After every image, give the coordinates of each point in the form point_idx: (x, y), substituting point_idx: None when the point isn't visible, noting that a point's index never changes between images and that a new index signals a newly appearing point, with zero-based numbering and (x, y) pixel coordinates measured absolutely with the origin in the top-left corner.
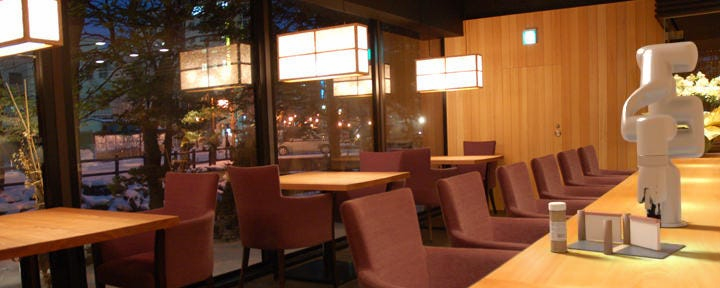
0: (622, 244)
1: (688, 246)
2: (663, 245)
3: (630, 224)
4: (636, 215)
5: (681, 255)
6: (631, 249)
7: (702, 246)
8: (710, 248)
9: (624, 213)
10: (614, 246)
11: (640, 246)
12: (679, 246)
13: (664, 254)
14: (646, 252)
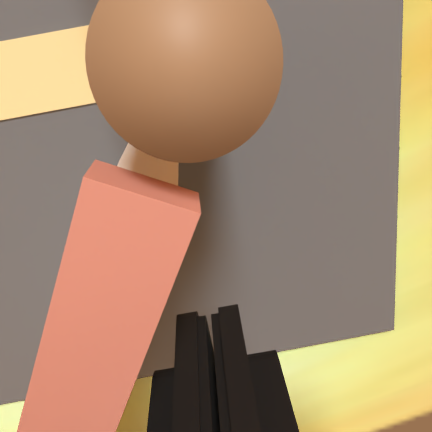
0: None
1: (390, 337)
2: (303, 260)
3: (128, 148)
4: (156, 290)
5: (128, 415)
6: (14, 187)
7: (427, 376)
8: (392, 415)
9: (162, 10)
10: (1, 14)
11: None
12: (327, 331)
13: None
14: (11, 301)
